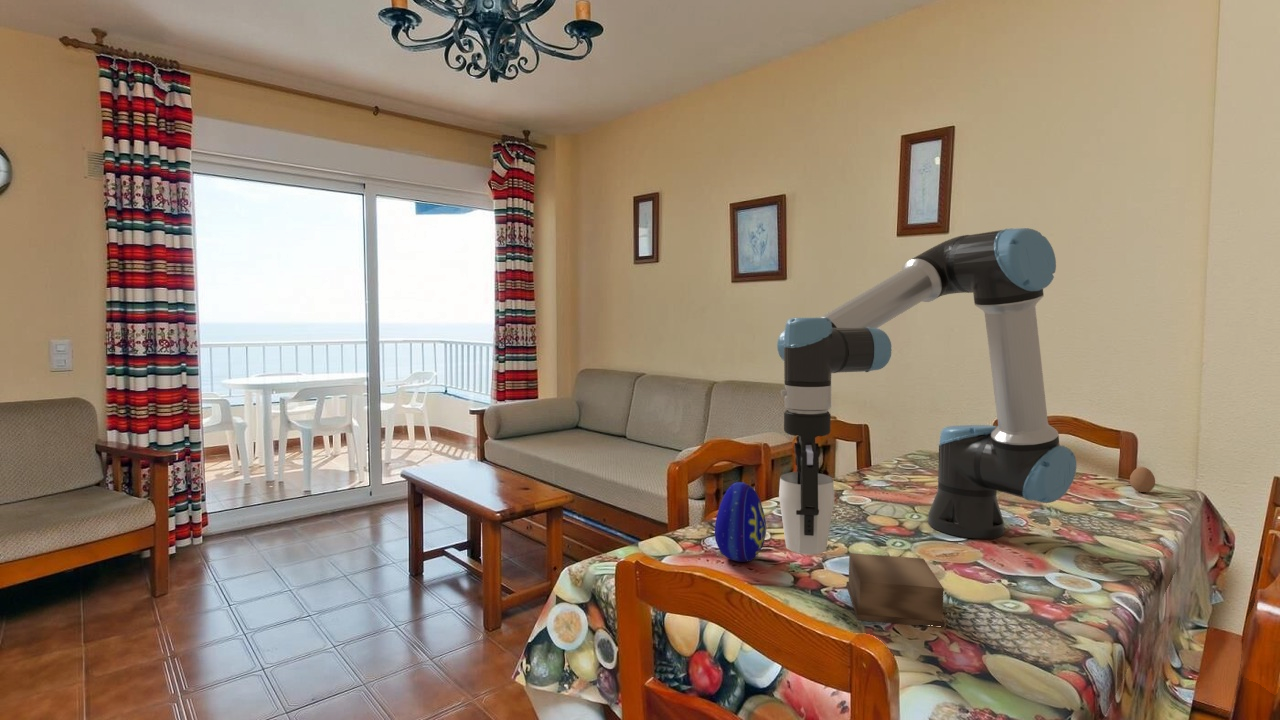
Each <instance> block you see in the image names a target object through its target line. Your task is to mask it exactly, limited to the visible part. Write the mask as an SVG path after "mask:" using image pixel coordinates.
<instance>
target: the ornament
mask: <svg viewBox="0 0 1280 720" xmlns="http://www.w3.org/2000/svg"><path fill="white" fill-rule="evenodd" d="M714 523H715V524H714V539H715V542H716V543H715V544H716V545H717V548H718V550H719V551H720V553H721V554H722V555H723V556H725V557H726V558H727V559H729V560H731V561H734V562H738V563H739V562H741V563H742V562H743V563H745V562H751V561H753V559H755V558H756V557H757V556H758V555H759V553H760V551H761V550H762V548H763V546H764V543H765V540H766V539H765V538H766V535H767V521H766V517H765V511H764V509H763V504H762V502H761V499H760V497H759V496H758V493H757V492H756V490H755V488H753V487H752V486H751V485H749V484H748V483H746V482H742V481H739V482H738V481H737V482H734V483H732V484H731V485H730V486H729V487H728V488H727V490H726V491H725V493H724V495H723V497H722V499H721V501H720V504H719V507H718V511H717V515H716V519H715V522H714Z"/></svg>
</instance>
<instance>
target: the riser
mask: <svg viewBox="0 0 1280 720" xmlns="http://www.w3.org/2000/svg"><path fill="white" fill-rule="evenodd" d="M848 555H849V556H848V557H849V558H848V559H849V560H848V561H849V562H848V581H846V588H847V592H848V595H849V598H850V602H851V605H852V606H853V607H852V608H853V610H854V613H855V618H856V620H857V621H866V622H867V621H868V622H876V623H887V624H897V625H898V624H900V625H907V626H908V625H910V626H919V625H930V626H931V625H933V626H941V627H945V628H946V622H945V620H944V619H943V612H944V611H943V610H944V590H945V589H944V587H943V585H942V584H941V582H940V581H939V579H938V577H937V576H936V574H935V573H934V572H933V570H932V569H931V568H930V566H929V565H928V563H927V562H926V560H925V559H924V558H921V557H909V556H908V557H905V556H897V555H896V556H895V555H893V556H892V555H880V554H879V555H878V554H865V553H853V552H849V554H848ZM930 626H929V627H930Z"/></svg>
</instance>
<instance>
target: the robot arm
mask: <svg viewBox="0 0 1280 720" xmlns="http://www.w3.org/2000/svg"><path fill="white" fill-rule="evenodd" d="M901 268H902V269H901V270H900V271H898V272H896V273H894V274H893V275H891V276H889V277H888V278H886V279H884V280H883V281H880V282H879V283H877V284H876V285H874V286H871V288H868V289H867V290H865V291H863V292H861V293H860V294H858V295H857V296H855V297H853V298H851V299H849V300H848V301H846V302H844V303H843V304H840V305H838V306H837V307H836V308H834V309H832V310H831V311H828V312H827V313H825V314H823V315H822V316H820V317H791V318H789V319H788V320H787V321H786V323H785V326H784V327H785V329H784V330H783V331H782V332H781V333H780V334H779V336H778V338H777V344H776V346H777V347H776V348H777V352H778V355H779V357H780V358H781V360H782V361H784V363H783V364H784V365H783V367H784V369H783V370H784V371H783V372H784V374H783V375H784V377H783V379H784V389H781V390H780V395H781V396H782V397H783V396H784V408H785V409H787V410H785V412H783V431H784V433H785V434H786V435H787V434H788V435H790V436H794V437H795V436H796V438H795V441H796V442H794V444H793V445H794V446H793V452H794V454H795V456H794V459H795V461H794V463H795V466H796V472H798V484H800V485H801V509H800V510H797V511H796V515H800V531H799V553H802V554H801V555H804V554H816V555H818V554H817V515H818V514H819V510H818V473H819V471H820V463H819V460H820V459H819V458H820V456H821V447H820V446H819V443H818V442H817V443H816V438H817V437H826V436H828V435H829V434H830V433H831V427H832V426H831V418H832V417H831V412H829V410H830V409H832V374H838V373H859V372H861V373H862V372H864V373H869V372H871V371H872V372H873V371H878V370H881V369H884V368H885V367H886V366H887V365H888V364H889V362H890V360H891V358H892V357H891V356H892V341H891V338H889V336H888V334H887V333H886V332H885V331H884V330H882V329H880V328H879V327H882V326H883V325H885V324H886V323H888V322H889V321H891V320H893V319H894V318H895V319H896V317H898V316H900V315H901V314H903V313H905V312H907V311H908V310H911V308H913V307H915V306H917V305H918V304H920V303H921V302H923V303H929V302H930V303H931V302H933V301H934V300H937V299H938V298H940V297H943V296H946V295H952V294H963V293H965V294H966V293H968V294H969V293H971V294H972V293H973V301H974V306H976V307H977V308H979V309H980V310H981V311H983V313H984V319H985V328H986V335H987V344H988V352H989V358H990V359H989V360H990V370H991V377H992V386H993V394H994V403H995V409H996V412H995V413H996V419H997V425H990V424H989V425H987V424H986V425H985V424H983V425H982V424H980V425H979V424H974V425H973V424H971V425H969V424H968V425H967V424H966V425H950V426H949V425H948V426H945V427H944V428H942V430H941V431H940V435H939V437H940V438H939V443H938V473H937V475H938V477H937V481H938V483H937V492H936V494H935V497H934V499H933V502H932V504H931V507H929V511H928V515H927V516H928V518H927V523H928V526H930V527H931V528H933V529H934V530H936V531H939V532H941V533H944V534H947V535H952V536H955V537H962V538H967V539H968V538H969V539H979V540H988V539H989V540H990V539H991V540H992V539H997V538H998V539H999V538H1000V537H1002V536H1004V535H1005V520H1004V517H1003V515H1002V512H1001V508H1000V504H999V502H998V498H997V492H1000V493H1004V494H1008V495H1010V496H1011V495H1012V496H1015V497H1019V498H1022V499H1025V500H1027V501H1033V502H1034V501H1035V502H1039V503H1043V504H1049V503H1054V502H1056V501H1058V500H1060V499H1061V498H1062V497H1063V496H1065V494H1066V493H1067V492H1068V491H1069V490H1070V488H1071V485H1072V484H1073V482H1074V479H1075V476H1076V472H1077V458H1076V455H1075V453H1074V452H1073V451H1072V449H1070V448H1069V447H1067V446H1065V445H1060V436H1059V435H1060V434H1059V432H1058V430H1057V429H1056V428H1055V427H1053V426H1051V425H1050V424H1049V420H1048V413H1047V411H1048V410H1047V402H1046V393H1045V392H1046V391H1045V384H1044V374H1043V364H1042V356H1041V354H1042V353H1041V346H1040V338H1039V327H1038V319H1037V311H1036V310H1037V309H1036V306H1037V304H1038V303H1039V302H1040V301H1041V300H1042V299H1043V298H1044V289H1045V288H1047V287H1048V286H1050V284H1051V283H1052V282H1053V280H1054V278H1055V276H1054V274H1055V273H1056V270H1057V260H1056V254H1055V252H1054V249H1053V246H1052V244H1051V242H1050V241H1049V240H1048V239H1047V237H1046V236H1044V235H1043V234H1042V233H1041V232H1040V231H1038V230H1036V229H1033V228H1025V227H1024V228H1023V227H1022V228H1005V229H999V230H995V231H988V232H982V233H975V234H963V235H959V236H956V237H952V238H949V239H948V240H945V241H943V242H941V243H938V244H937V245H935V246H933V247H931V248H929V249H927V250H926V251H923V252H922V253H920V254H918V255H916V256H915V257H912V258H911V259H909V260H907V261H906V262H905V263H904V265H902V267H901ZM806 506H813V507H806Z"/></svg>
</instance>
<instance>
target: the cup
mask: <svg viewBox="0 0 1280 720" xmlns="http://www.w3.org/2000/svg"><path fill="white" fill-rule="evenodd" d="M834 483H835V481H834V478H833V477H831V476H830V475H827V474H824V473H819V472H818V510H819V514H818V515H817V554H802V553H799V531H800V515H796V511H797V510H800V509H801V485H800V484H798V472H797V471H793V472H786V473H783V474H781V475H780V477H779V489H778V490H779V491H778V497H779V505H780V506H779V507H780V512H781V513H780V514H781V518H782V519H781V521H782V528H783V533H784V536H783V537H784V543H785V547H786V549H787V550H789V551H791V552H793V553H795V554H799V555H806V556H815V555H820V554H822V553H825V552H826V551H827V548H828V547H827V546H828V540H829V536H830V535H829V534H830V529H831V523H832V517H833V515H832V514H833V509H834V503H835V484H834ZM806 507H813V506H806Z"/></svg>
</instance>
